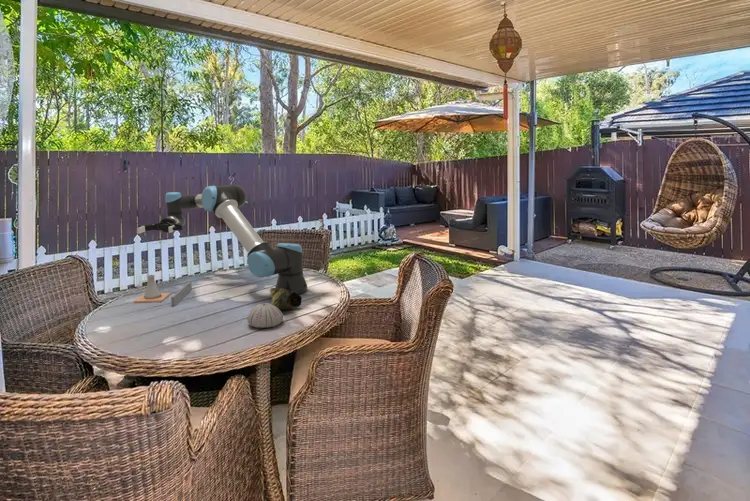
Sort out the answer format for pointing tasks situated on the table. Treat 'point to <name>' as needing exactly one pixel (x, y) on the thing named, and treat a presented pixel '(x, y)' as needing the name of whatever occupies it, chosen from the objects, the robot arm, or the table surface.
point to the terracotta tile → (158, 299)
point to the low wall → (181, 294)
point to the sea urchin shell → (265, 316)
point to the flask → (151, 288)
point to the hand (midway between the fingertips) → (154, 230)
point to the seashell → (285, 299)
